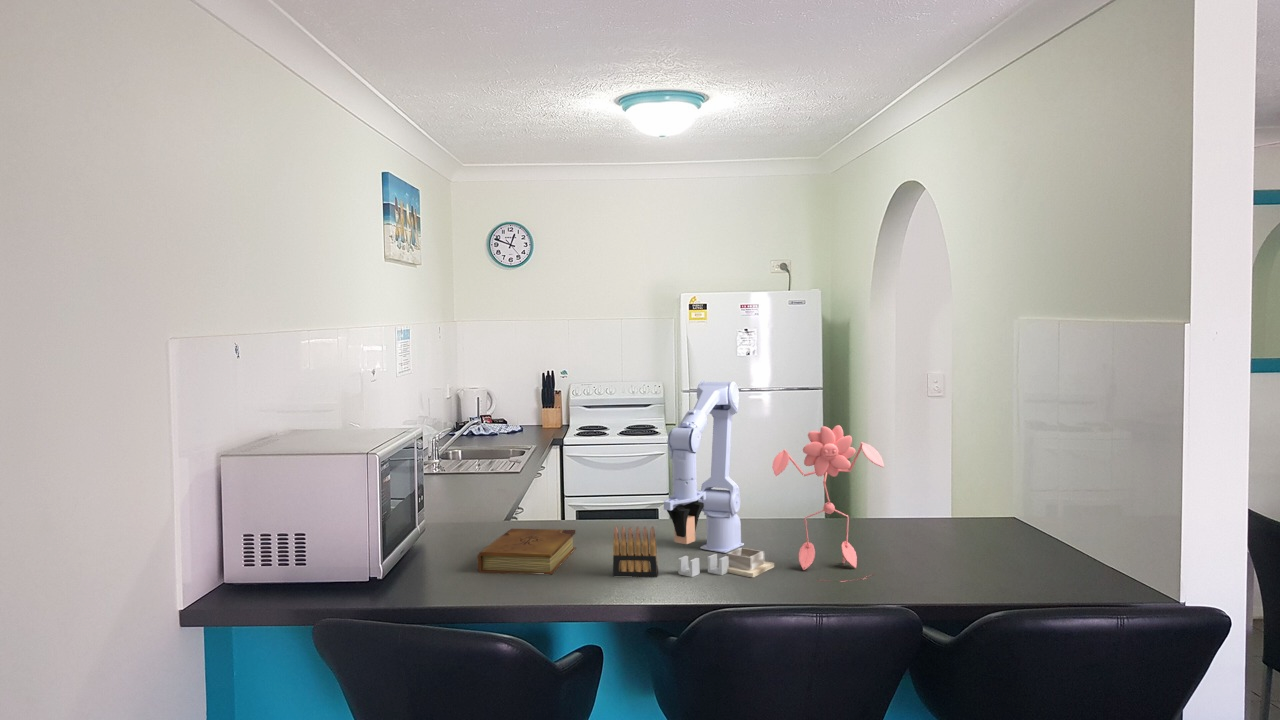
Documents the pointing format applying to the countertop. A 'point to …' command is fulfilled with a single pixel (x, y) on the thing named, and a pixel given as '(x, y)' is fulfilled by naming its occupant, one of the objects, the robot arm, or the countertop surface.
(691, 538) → the orange rectangular block
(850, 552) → the figurine
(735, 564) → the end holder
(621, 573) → the ammunition clip
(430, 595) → the countertop surface
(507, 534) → the diary
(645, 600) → the countertop surface
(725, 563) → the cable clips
